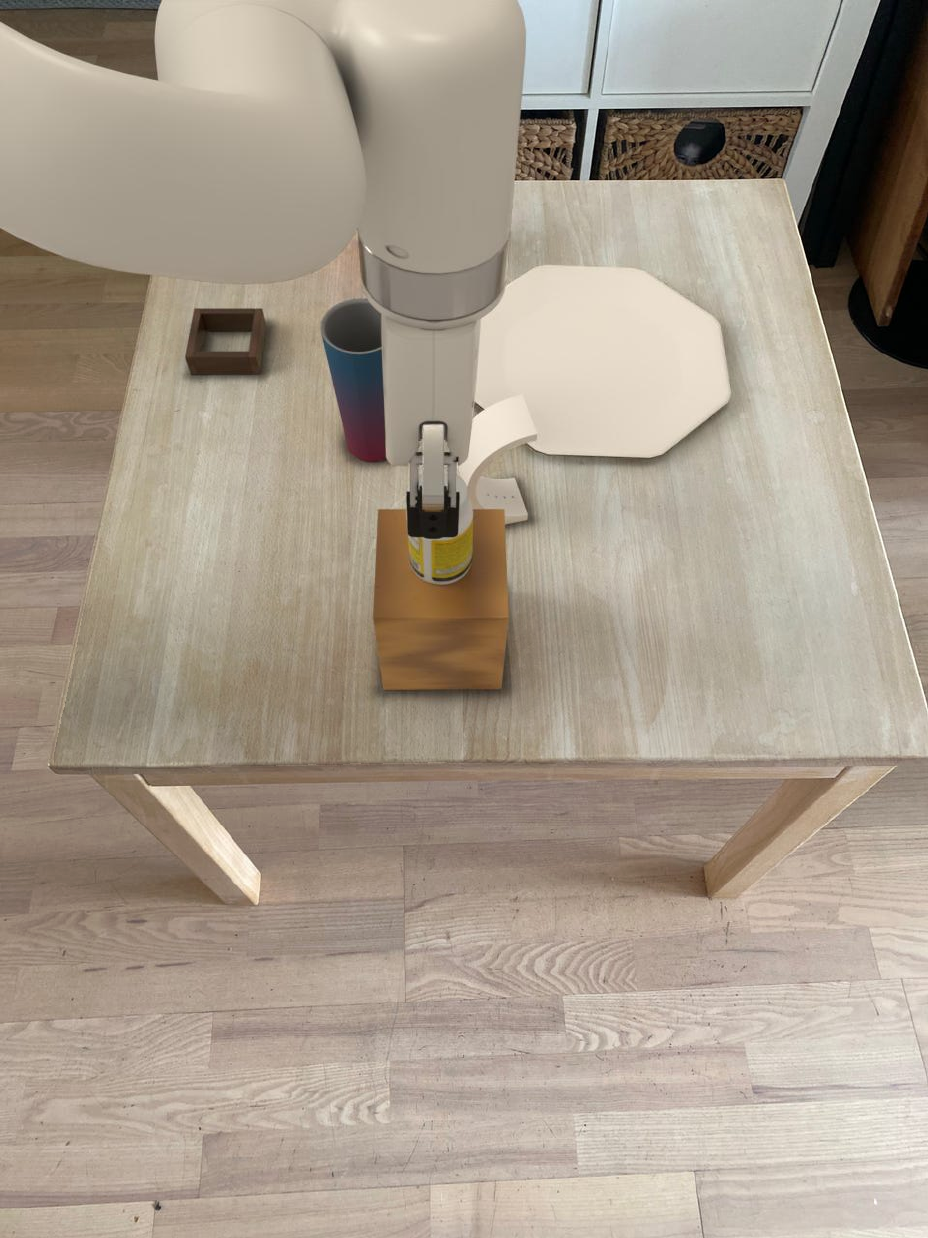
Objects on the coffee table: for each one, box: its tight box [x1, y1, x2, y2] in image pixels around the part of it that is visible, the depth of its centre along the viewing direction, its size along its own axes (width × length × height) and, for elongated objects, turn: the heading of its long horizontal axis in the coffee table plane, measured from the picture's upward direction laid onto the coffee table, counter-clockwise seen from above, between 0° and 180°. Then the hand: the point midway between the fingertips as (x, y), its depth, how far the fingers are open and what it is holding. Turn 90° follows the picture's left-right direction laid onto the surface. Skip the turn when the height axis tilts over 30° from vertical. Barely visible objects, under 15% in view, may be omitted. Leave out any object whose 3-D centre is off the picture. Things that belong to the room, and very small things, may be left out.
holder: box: [184, 307, 267, 376], centre depth 97 cm, size 7×7×2 cm
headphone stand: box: [457, 395, 537, 525], centre depth 83 cm, size 5×6×12 cm
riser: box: [372, 508, 510, 691], centre depth 76 cm, size 10×10×12 cm
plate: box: [474, 264, 732, 460], centre depth 97 cm, size 28×28×2 cm
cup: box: [319, 297, 387, 463], centre depth 86 cm, size 7×7×15 cm
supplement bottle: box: [406, 469, 473, 585], centre depth 67 cm, size 5×5×8 cm
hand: (433, 473), depth 62 cm, fingers open, 9 cm apart
